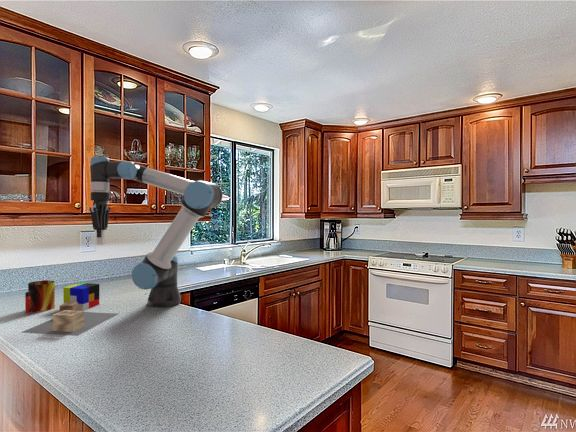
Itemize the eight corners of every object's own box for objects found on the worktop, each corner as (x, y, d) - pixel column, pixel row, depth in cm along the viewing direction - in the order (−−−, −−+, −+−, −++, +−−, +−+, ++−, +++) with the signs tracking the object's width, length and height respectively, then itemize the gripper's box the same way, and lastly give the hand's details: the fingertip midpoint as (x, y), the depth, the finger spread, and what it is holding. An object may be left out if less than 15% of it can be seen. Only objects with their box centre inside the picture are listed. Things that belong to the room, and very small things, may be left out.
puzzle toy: (83, 311, 158) (83, 288, 157) (63, 309, 160) (63, 287, 159) (99, 305, 168) (99, 284, 167) (80, 303, 170) (80, 282, 169)
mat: (119, 314, 154) (119, 313, 154) (77, 336, 129) (77, 335, 129) (71, 311, 157) (71, 311, 157) (20, 333, 131) (20, 332, 131)
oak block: (72, 315, 132) (73, 332, 132) (83, 310, 138) (83, 326, 138) (52, 314, 133) (52, 330, 133) (64, 309, 139) (64, 325, 139)
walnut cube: (77, 313, 153) (77, 302, 153) (72, 317, 148) (72, 305, 148) (65, 314, 152) (65, 302, 152) (59, 317, 147) (59, 305, 147)
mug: (25, 316, 149) (25, 287, 149) (29, 308, 161) (29, 281, 161) (53, 313, 154) (52, 285, 154) (55, 305, 166) (55, 279, 166)
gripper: (100, 192, 168) (100, 242, 169) (82, 191, 155) (83, 246, 156) (116, 192, 168) (116, 243, 168) (100, 191, 155) (100, 246, 155)
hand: (100, 244), depth 162 cm, fingers closed
